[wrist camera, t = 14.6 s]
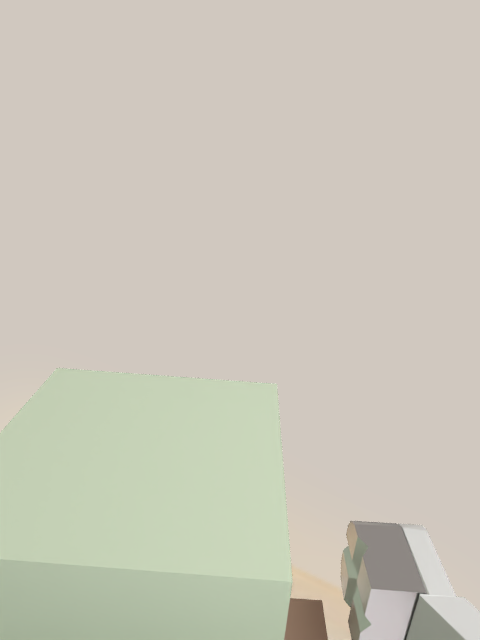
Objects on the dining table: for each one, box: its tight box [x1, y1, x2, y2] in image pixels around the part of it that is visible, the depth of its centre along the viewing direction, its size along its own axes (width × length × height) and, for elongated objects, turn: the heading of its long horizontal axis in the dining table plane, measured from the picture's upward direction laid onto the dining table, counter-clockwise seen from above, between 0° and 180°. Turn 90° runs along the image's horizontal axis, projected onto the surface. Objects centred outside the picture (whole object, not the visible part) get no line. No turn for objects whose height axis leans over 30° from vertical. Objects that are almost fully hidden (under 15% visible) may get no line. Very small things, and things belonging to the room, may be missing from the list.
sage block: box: [0, 368, 292, 640], centre depth 10 cm, size 5×5×10 cm
